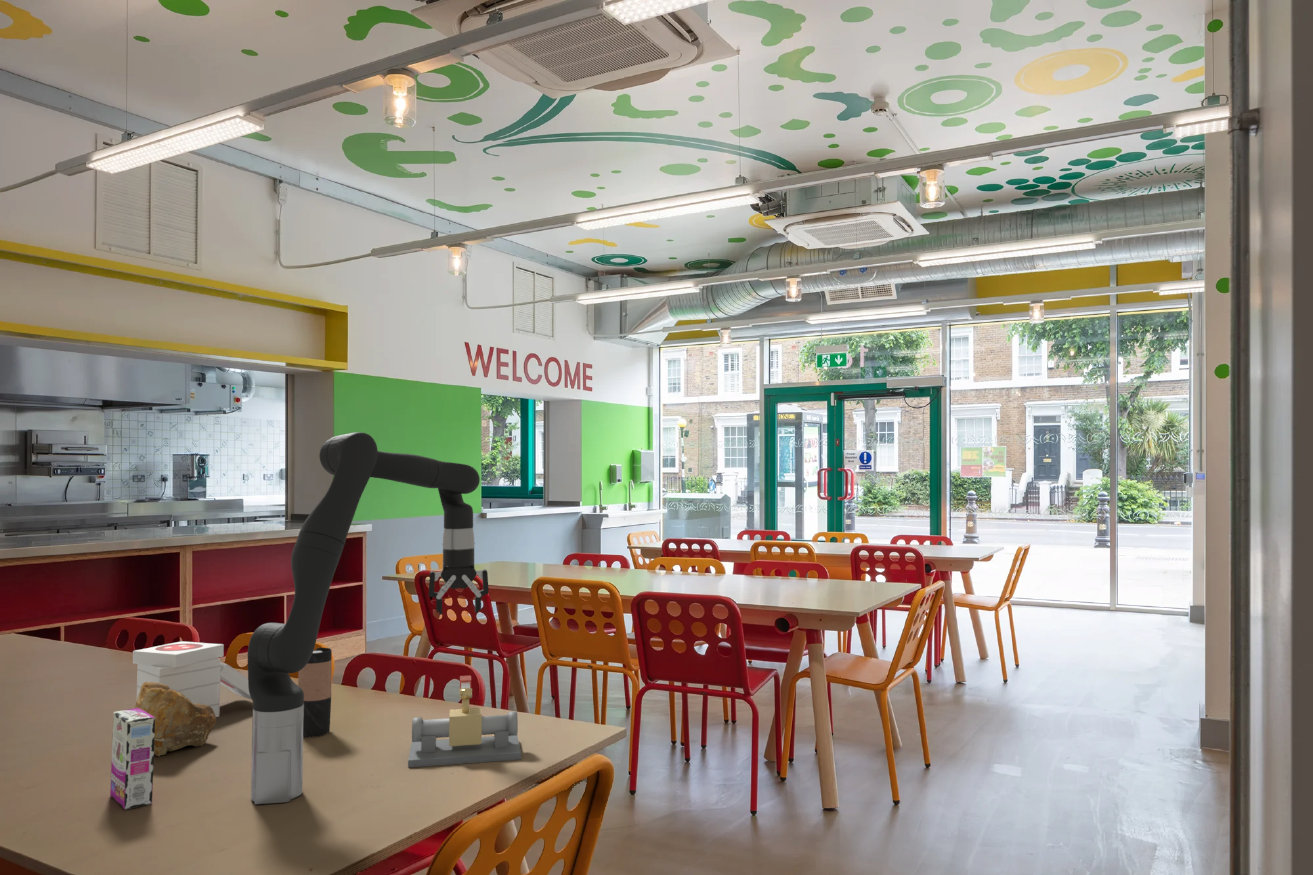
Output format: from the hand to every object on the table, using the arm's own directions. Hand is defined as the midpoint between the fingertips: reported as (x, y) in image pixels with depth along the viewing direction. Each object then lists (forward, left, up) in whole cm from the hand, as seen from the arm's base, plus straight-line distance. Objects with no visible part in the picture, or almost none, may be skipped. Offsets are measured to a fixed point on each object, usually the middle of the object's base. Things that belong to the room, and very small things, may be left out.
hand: (458, 613), depth 214 cm
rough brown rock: (+5, +64, -29) cm, 71 cm away
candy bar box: (-31, +61, -29) cm, 75 cm away
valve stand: (-16, -2, -29) cm, 33 cm away
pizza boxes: (+36, +67, -29) cm, 82 cm away
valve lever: (-9, -2, -17) cm, 19 cm away
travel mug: (+9, +34, -29) cm, 46 cm away
